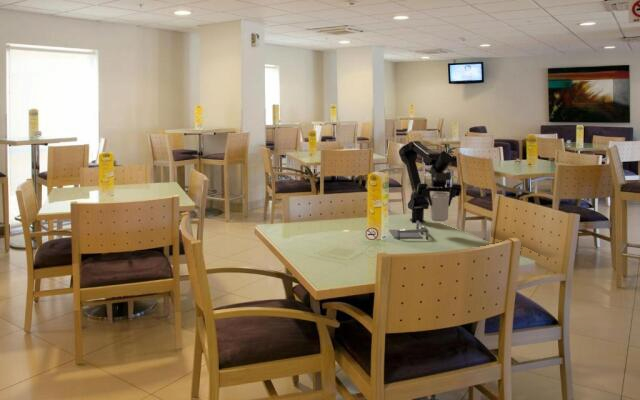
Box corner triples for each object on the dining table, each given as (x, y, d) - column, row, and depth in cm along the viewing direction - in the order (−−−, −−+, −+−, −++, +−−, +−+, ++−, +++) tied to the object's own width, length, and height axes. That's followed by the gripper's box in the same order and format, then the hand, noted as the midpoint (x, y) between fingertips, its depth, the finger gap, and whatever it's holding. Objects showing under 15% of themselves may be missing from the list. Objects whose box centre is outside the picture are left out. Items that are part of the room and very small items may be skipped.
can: (446, 218, 244) (448, 191, 242) (448, 222, 237) (450, 194, 235) (429, 217, 245) (430, 191, 243) (431, 221, 238) (432, 194, 235)
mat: (389, 230, 249) (389, 229, 249) (415, 230, 249) (415, 229, 249) (394, 238, 235) (394, 237, 235) (422, 238, 236) (422, 237, 236)
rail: (389, 228, 253) (390, 219, 252) (418, 228, 254) (418, 219, 253) (397, 239, 233) (397, 230, 233) (428, 239, 234) (428, 230, 233)
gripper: (418, 165, 241) (420, 194, 232) (462, 165, 240) (465, 195, 231) (415, 180, 250) (417, 209, 242) (457, 181, 249) (460, 210, 240)
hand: (440, 205), depth 238 cm, fingers closed on can, 7 cm apart
